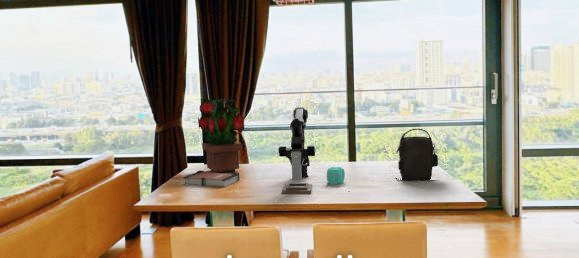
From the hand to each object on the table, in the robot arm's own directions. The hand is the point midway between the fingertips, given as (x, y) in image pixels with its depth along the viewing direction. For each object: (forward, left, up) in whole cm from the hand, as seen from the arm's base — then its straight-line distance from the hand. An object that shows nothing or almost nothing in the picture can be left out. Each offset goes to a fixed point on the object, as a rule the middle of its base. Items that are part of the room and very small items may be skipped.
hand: (296, 164), depth 240 cm
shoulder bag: (-69, +5, -14) cm, 70 cm away
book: (+36, -40, -14) cm, 56 cm away
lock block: (-1, -1, -7) cm, 7 cm away
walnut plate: (-1, -1, -13) cm, 14 cm away
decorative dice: (-26, -8, -14) cm, 30 cm away
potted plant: (+23, -69, -14) cm, 74 cm away
